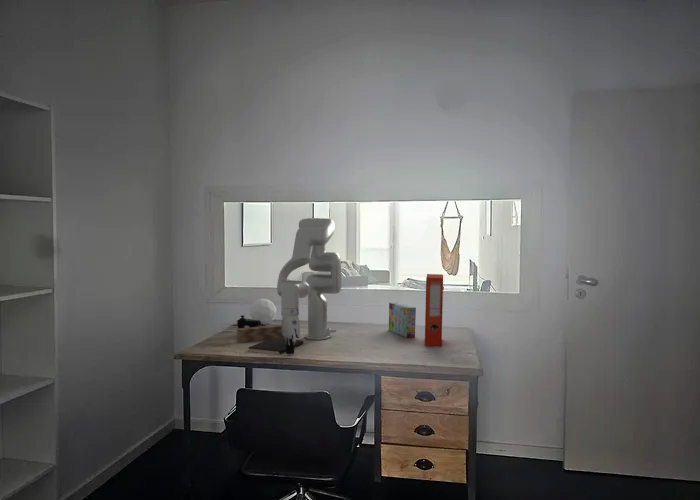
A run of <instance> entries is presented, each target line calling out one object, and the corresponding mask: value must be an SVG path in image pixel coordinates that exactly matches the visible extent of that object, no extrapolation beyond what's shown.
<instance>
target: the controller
mask: <svg viewBox="0 0 700 500" xmlns="http://www.w3.org/2000/svg"><path fill="white" fill-rule="evenodd" d="M236 324H237V325H236V326H237V329H239V328H246V326H247V327H248V328H251V327H260V326H261V325H262V324H261V322H260V320H252V319H250V318H248V319H247V318H245V315H240V318H239V319H237V320H236Z"/></svg>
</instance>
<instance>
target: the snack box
mask: <svg viewBox="0 0 700 500" xmlns="http://www.w3.org/2000/svg"><path fill="white" fill-rule="evenodd" d="M388 304H389V305H388V331H390V332H393V333H395V334H398V335H400V336H402V337H404V338H415V337H416V313H417V312H416V311H417V310H416V309H417V308H416V307H415V306H411V305H408V304H405V303H402V302H398V301H392V302H391V301H390V302H389V303H388Z"/></svg>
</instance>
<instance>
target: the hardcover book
mask: <svg viewBox="0 0 700 500" xmlns="http://www.w3.org/2000/svg"><path fill="white" fill-rule="evenodd" d="M302 344H303V345H304V340H301V339H296V342H295V344H294V349H296V348H298V347H300V346H302ZM286 345H287V344H286V341H285V338H272V339H269V340H263V341H260V342H259V343H256V344H254V345H251V346H249V347H248V348H247V349H248V352H250V351H253V352H252V353H260V352H263V353H262V354H269V353H271V354H272V353H273V354H272V355H278V354H280V355H282V354H284V352H285V353H286ZM295 347H296V348H295ZM271 354H270V355H271Z"/></svg>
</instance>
